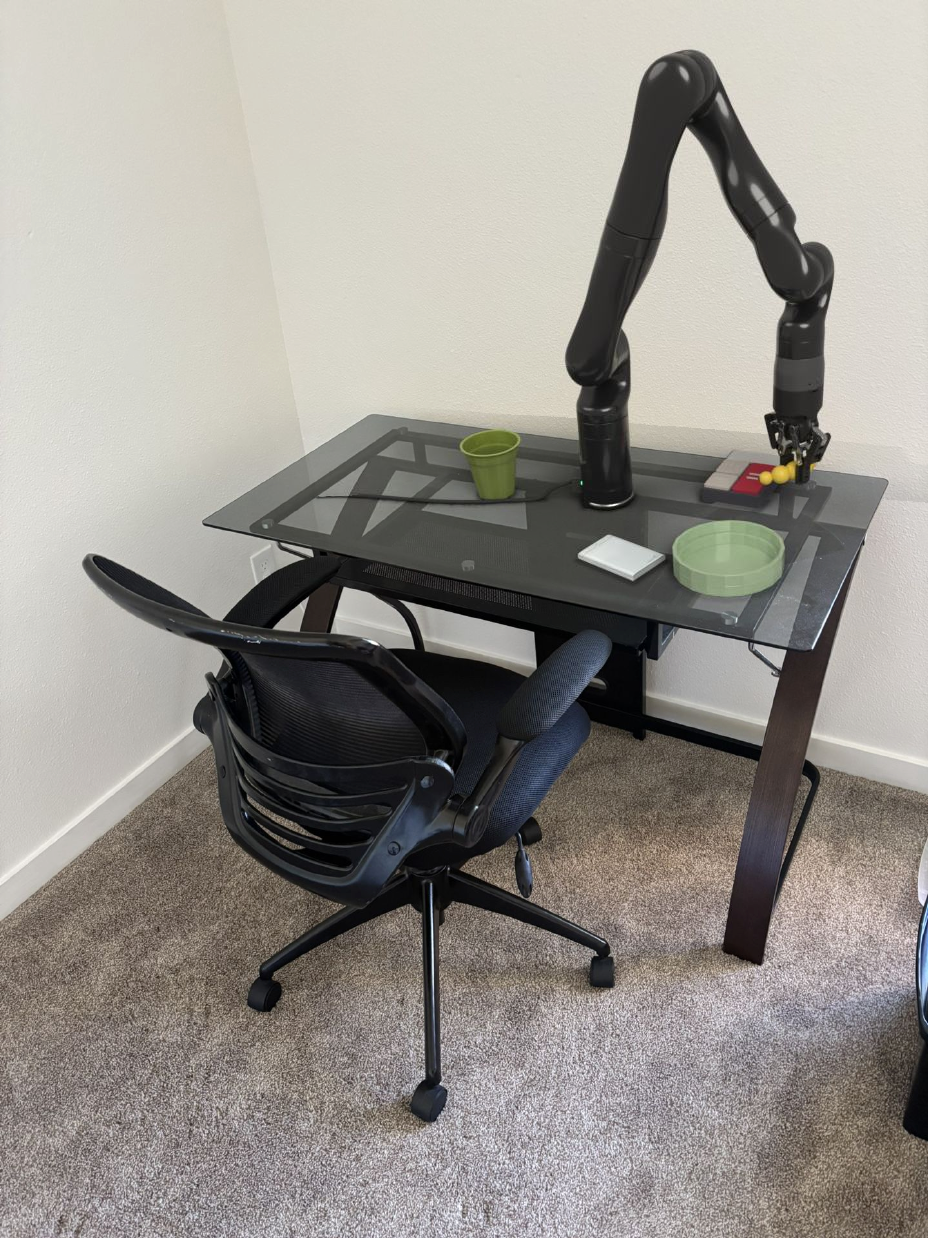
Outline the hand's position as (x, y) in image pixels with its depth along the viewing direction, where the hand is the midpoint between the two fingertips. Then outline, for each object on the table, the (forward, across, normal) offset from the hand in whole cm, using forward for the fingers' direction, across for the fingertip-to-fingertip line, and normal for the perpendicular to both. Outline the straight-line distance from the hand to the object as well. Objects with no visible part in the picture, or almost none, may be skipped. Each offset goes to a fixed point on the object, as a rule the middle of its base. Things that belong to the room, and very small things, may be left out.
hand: (794, 478), depth 156 cm
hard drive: (+9, -8, -29) cm, 31 cm away
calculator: (+9, -16, +2) cm, 19 cm away
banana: (0, 0, 0) cm, 0 cm away
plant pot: (+9, -45, -36) cm, 58 cm away
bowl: (+9, +5, -17) cm, 20 cm away
